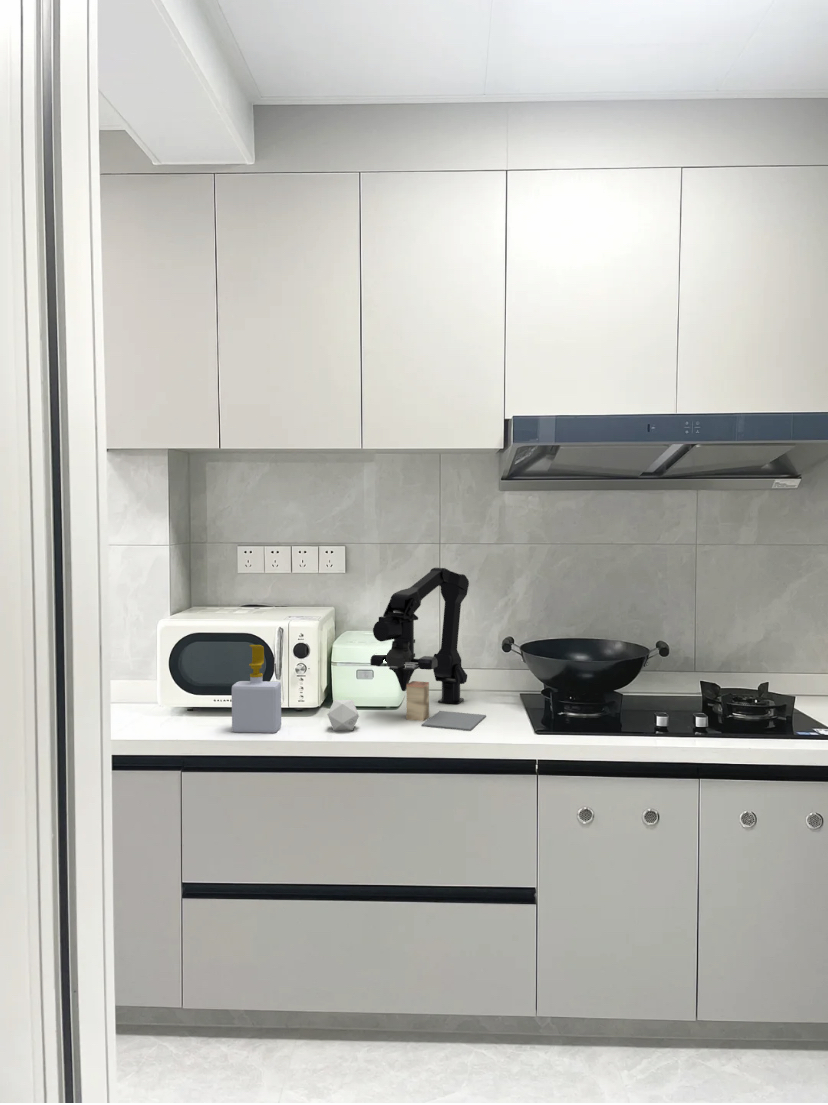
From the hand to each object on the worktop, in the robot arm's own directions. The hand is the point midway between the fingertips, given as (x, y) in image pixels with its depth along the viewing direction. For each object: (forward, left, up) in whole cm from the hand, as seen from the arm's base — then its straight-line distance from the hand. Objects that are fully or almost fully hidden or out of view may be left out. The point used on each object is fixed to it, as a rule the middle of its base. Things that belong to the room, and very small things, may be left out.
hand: (403, 690), depth 237 cm
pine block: (0, +4, -8) cm, 9 cm away
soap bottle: (+27, -32, -8) cm, 43 cm away
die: (+18, -11, -8) cm, 22 cm away
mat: (0, +15, -8) cm, 17 cm away
